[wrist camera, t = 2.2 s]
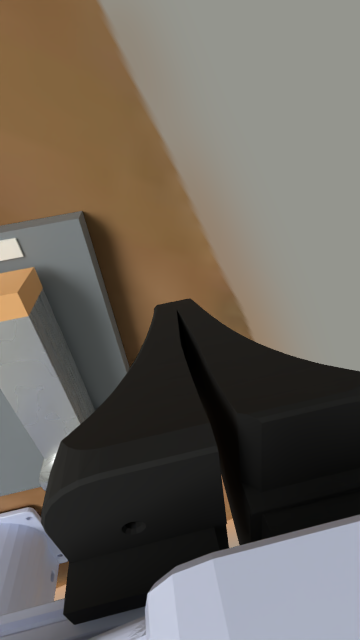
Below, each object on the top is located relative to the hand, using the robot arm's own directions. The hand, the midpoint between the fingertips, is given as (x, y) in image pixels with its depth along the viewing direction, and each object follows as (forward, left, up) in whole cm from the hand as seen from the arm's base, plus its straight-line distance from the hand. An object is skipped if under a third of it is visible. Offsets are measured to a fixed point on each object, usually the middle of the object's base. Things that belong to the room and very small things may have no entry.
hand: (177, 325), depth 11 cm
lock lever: (-4, +7, -4) cm, 9 cm away
